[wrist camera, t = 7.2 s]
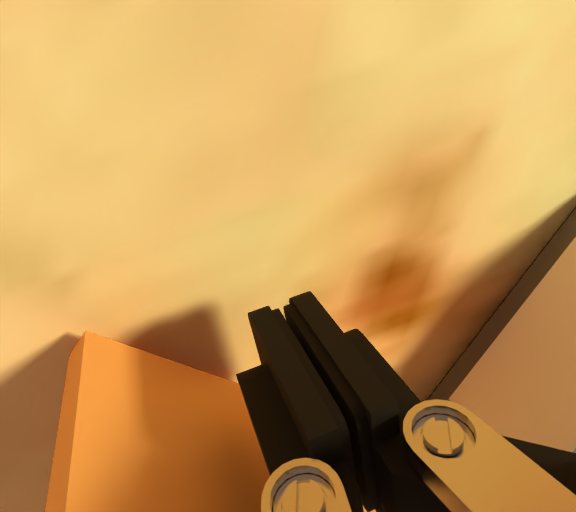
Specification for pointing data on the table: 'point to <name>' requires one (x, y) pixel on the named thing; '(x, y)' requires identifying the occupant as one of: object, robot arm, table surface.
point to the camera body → (527, 354)
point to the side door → (151, 437)
